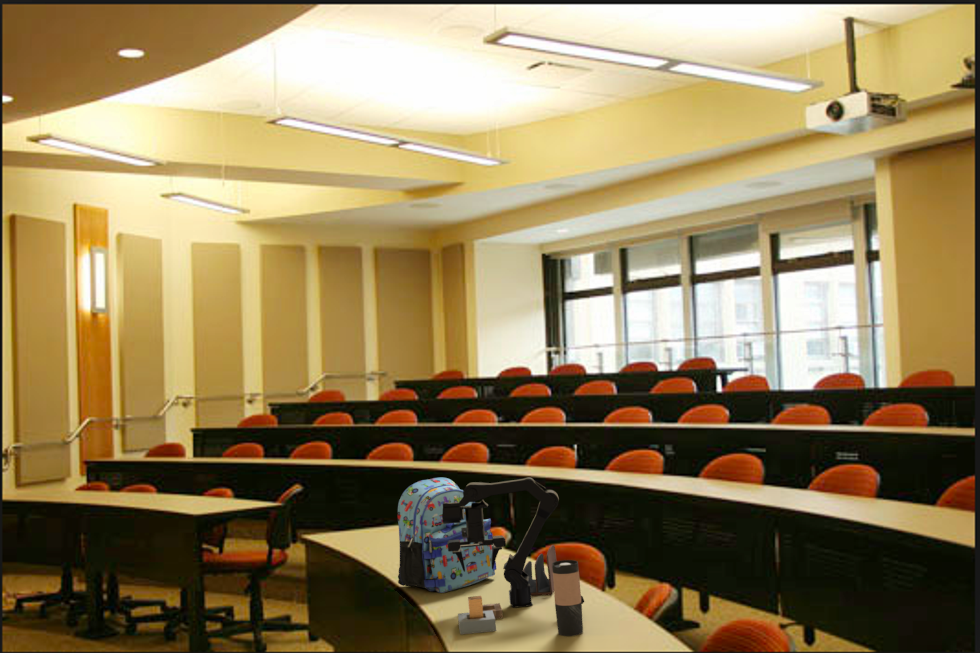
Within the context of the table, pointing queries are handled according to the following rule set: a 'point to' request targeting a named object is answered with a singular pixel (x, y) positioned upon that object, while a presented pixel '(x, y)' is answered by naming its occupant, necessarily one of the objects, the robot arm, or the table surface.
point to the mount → (494, 609)
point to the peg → (475, 607)
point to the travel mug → (567, 597)
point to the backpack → (437, 540)
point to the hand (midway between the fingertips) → (478, 570)
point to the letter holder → (542, 574)
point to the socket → (476, 623)
